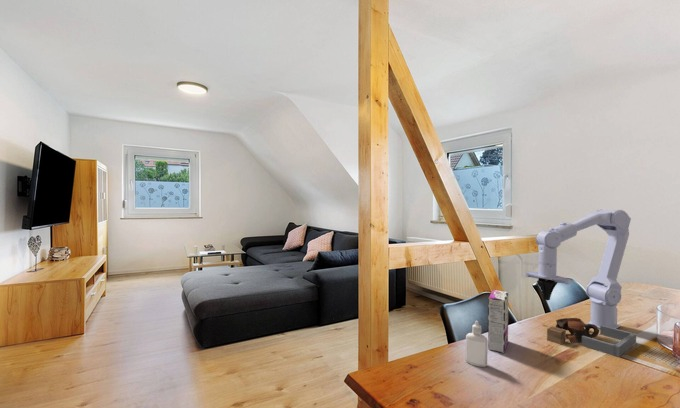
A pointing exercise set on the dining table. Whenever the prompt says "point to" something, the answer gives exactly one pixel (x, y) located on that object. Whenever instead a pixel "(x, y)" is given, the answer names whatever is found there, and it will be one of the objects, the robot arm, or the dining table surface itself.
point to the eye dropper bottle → (476, 347)
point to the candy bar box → (498, 321)
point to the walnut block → (556, 335)
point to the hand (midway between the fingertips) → (546, 299)
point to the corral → (615, 350)
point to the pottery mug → (577, 329)
